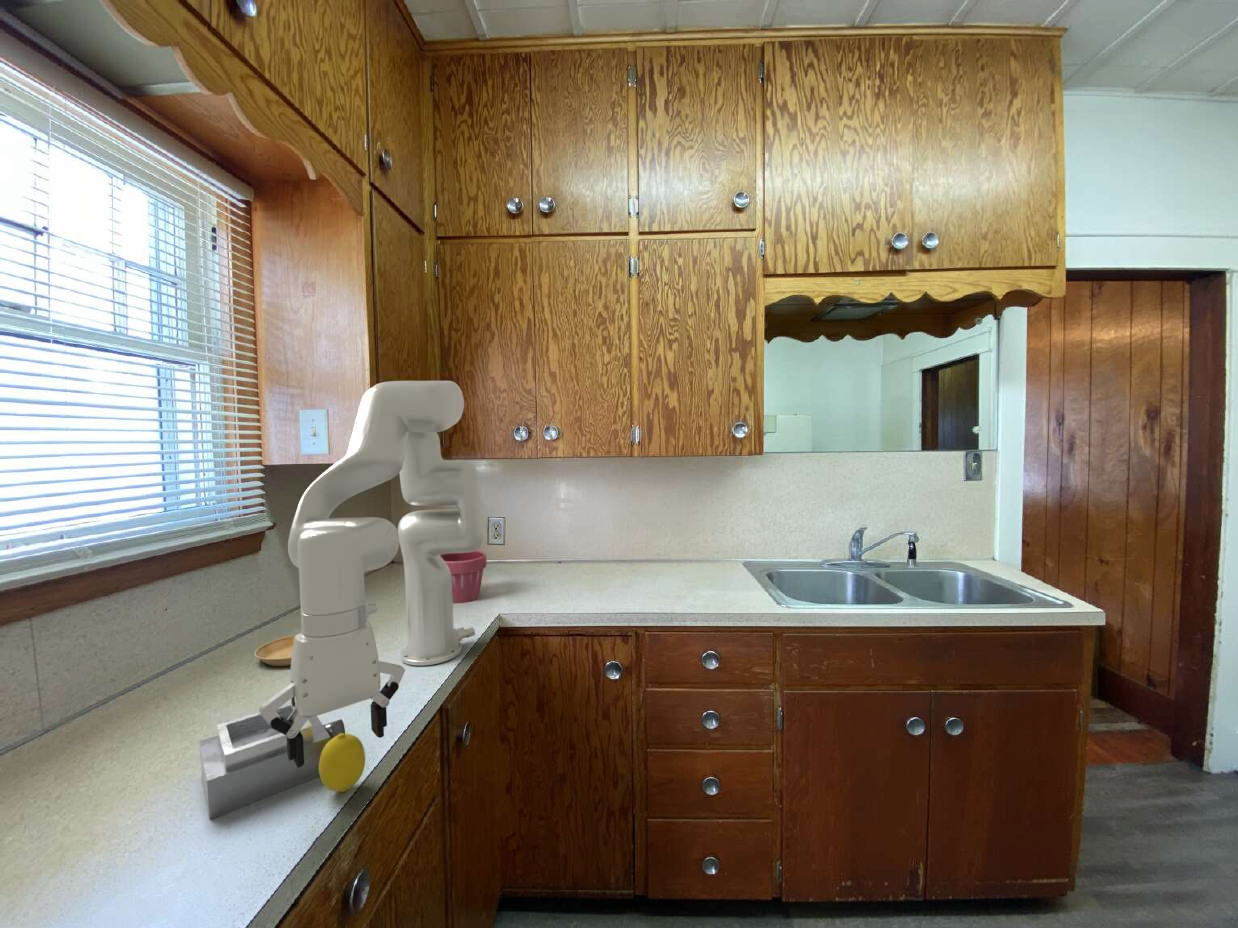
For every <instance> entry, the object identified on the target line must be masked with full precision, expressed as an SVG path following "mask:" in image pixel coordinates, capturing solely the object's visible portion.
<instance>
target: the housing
mask: <svg viewBox="0 0 1238 928" xmlns="http://www.w3.org/2000/svg"><path fill="white" fill-rule="evenodd" d="M294 709H295V707H292V704H291V702H286V703H285V704H283V705H282V706H281V707H279V708H278V709H277V711H276V713H277V714H278V715H279V716H281V717H283V718H285V719H287V718H288V717H289V715H290V714H291V713H292V711H293V710H294ZM344 724H345V723H344V720H343V719H341V718H340V719H337V720H334V721H331V722H328V723H325V724H323V723H322V722H321V720H320V719H319V716H318V715H317V716H314V717H309V718H308V720H307V721H306V723H305V724H304V726H303V727H302V728H301V730H300V732H301V733H302V735H303V747H304V765H303V766H302V767H299V768H297V766H296V764H295V762H294V760H290V761H289V759H288V755H287V736H286V735H284V734H282V733H280V732H278V731H276V730H274V729H272V727H271V726H270V725H269V724H268V723H267V721H266V720H265V719H264V718H263V717H262V715H261V714H260V712H259V711H258V712H255V713H252V714H248V715H246V716H242V717H239V718H235V719H232V720H229V721H225V722H222V723H219V724H216V735H214V736H211V737H209V738H208V737H207V738H205V739H201V740H199V741H198V743H199V755H200V758H199V759H200V771H201V780H202V784H203V791H204V795H205V801H206V802H205V803H206V807H207V812H208V819H209V820H213V819H214V818H216V817H218V816H219V817H220V816H221V815H224V814H228V813H230V812H232V811H235V810H237V809H239V808H242V807H244V806H247V805H249V804H253V803H254V802H257V801H260V800H262V799H265V798H268V797H270V796H272V795H275V794H277V793H280V792H282V791H284V790H285V791H286V790H287V789H291V788H292V787H295V786H298V785H299V784H302V783H305V782H308V781H310V780H312V779H315V778H318V777H320V775H319V761H320V757H321V753H322V750H323V748H324V747H325V745H326V744H327V743H328V742H329V741H330V740H331V739H332V738H334V737H336V736H338V734H340V733H344V734H346V729H345V725H344Z"/></svg>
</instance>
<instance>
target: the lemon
mask: <svg viewBox="0 0 1238 928" xmlns="http://www.w3.org/2000/svg"><path fill="white" fill-rule="evenodd" d="M365 765H366V751H365V748H364V746H363V742H362V740H360V738H359V737H358V736H356V735H354V734H351V733H345V734H344V733H340V734H338V736H336V737H334V738H332V739H331V740H330V741H329V742H328V743H327V744H326V745H325V747H324V748H323V750H322V753H321V757H320V761H319V775H320V776H319V778H320V780H321V783H322V784H323V786H324V787H325V788H327V789H328V790H330V791H333V792H340V793H345V792H347V790H349V789H350V788H352V787H354V785H356V783H357V782H359V780H360V779H361V777H362V775H363V772H364V770H365Z"/></svg>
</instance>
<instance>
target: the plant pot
mask: <svg viewBox="0 0 1238 928" xmlns="http://www.w3.org/2000/svg"><path fill="white" fill-rule="evenodd" d="M440 556H441V557H442V559H443V560H444V561H445V562H446V564H447V565H448V567H449V569H450V571H451V577H452V602H453V604H463V603H470V602H473V601H475V600H477V599H478V598H479V596H480V590H481V586H482V580H483V575H484V569H485V568H487V554H486V552H484V551H481V550H476V551H474V552H470V553H454V554H440Z"/></svg>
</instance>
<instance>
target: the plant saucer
mask: <svg viewBox="0 0 1238 928" xmlns="http://www.w3.org/2000/svg"><path fill="white" fill-rule="evenodd" d="M296 635H297V634H294V635H290V636H289V635H288V636H285V637H281V638H278V639H274V640H272V641H270V642H267V643H265V644H263V645H261V646H260V647H258V648H257V649H255V651H254V656H255V657H256V658H257V659H259V660H260V661H261V662H263V663H265V665H266V664H267V665H269V666H272V667H285V666H286V667H287V666H291V657H292V649H293V643H294V638H295V636H296Z"/></svg>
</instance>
